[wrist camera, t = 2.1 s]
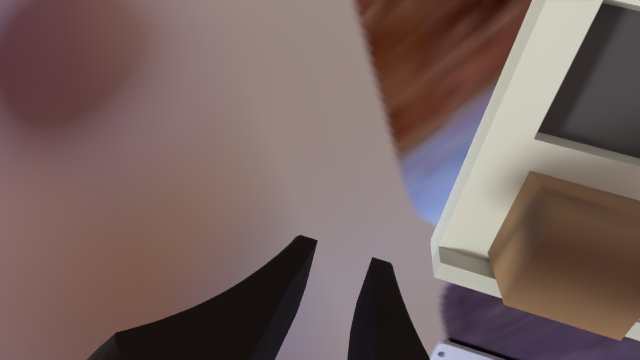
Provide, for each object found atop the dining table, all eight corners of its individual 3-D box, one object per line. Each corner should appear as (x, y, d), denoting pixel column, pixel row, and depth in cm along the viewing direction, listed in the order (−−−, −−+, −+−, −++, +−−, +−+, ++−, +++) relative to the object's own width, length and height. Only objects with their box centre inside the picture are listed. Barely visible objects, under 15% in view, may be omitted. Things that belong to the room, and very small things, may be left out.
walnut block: (582, 280, 20) (620, 340, 16) (487, 252, 20) (504, 304, 17) (638, 200, 18) (696, 249, 14) (529, 170, 18) (559, 210, 14)
